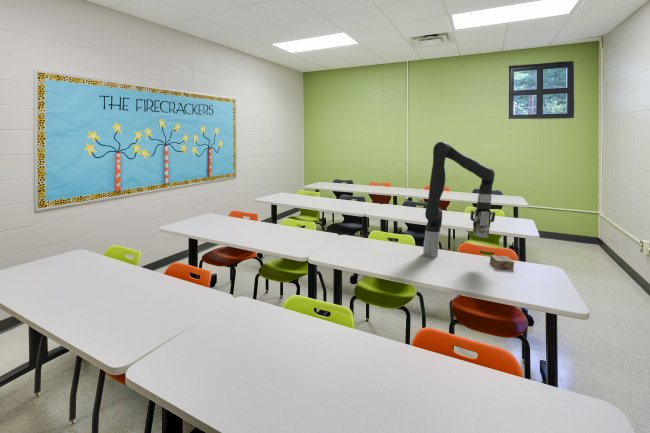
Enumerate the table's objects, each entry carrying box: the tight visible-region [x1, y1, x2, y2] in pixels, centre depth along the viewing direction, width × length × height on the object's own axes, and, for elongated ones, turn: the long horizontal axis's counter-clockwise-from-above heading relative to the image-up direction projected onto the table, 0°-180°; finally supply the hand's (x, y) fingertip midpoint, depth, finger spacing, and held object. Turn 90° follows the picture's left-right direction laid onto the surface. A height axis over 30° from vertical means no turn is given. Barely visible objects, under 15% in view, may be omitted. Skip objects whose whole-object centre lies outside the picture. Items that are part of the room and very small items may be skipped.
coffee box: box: [472, 208, 492, 238], centre depth 215 cm, size 9×6×16 cm
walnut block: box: [489, 254, 515, 271], centre depth 217 cm, size 10×12×5 cm
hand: (481, 227), depth 216 cm, fingers closed on coffee box, 7 cm apart
